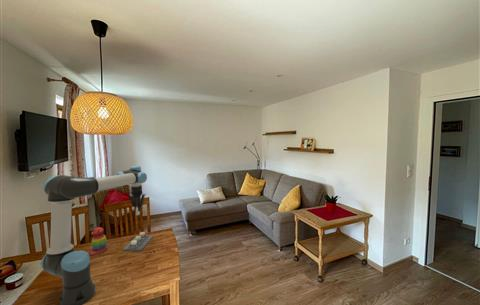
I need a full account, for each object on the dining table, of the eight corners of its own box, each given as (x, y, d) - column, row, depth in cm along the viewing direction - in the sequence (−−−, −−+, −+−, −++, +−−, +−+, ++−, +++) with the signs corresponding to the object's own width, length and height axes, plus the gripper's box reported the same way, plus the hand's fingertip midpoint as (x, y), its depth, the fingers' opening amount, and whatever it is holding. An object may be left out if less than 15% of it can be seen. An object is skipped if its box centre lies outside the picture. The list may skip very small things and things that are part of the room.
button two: (139, 241, 163) (139, 237, 162) (134, 241, 163) (134, 237, 162) (142, 239, 167) (142, 235, 166) (137, 239, 167) (137, 235, 166)
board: (141, 251, 155) (140, 247, 155) (122, 250, 155) (122, 247, 155) (152, 237, 175) (152, 234, 174) (136, 237, 175) (136, 234, 175)
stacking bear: (92, 248, 158) (91, 226, 157) (108, 245, 162) (106, 223, 161) (89, 256, 148) (87, 232, 147) (105, 252, 153) (104, 229, 151)
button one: (135, 246, 156) (135, 242, 156) (130, 246, 156) (129, 242, 156) (138, 243, 160) (137, 239, 160) (133, 243, 160) (132, 239, 160)
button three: (143, 237, 169) (143, 233, 169) (138, 237, 169) (138, 233, 169) (146, 235, 173) (145, 231, 173) (141, 235, 173) (141, 231, 173)
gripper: (146, 184, 165) (148, 212, 167) (130, 184, 165) (132, 212, 167) (142, 186, 157) (143, 216, 160) (125, 186, 158) (127, 216, 160)
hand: (138, 214), depth 164 cm, fingers closed
